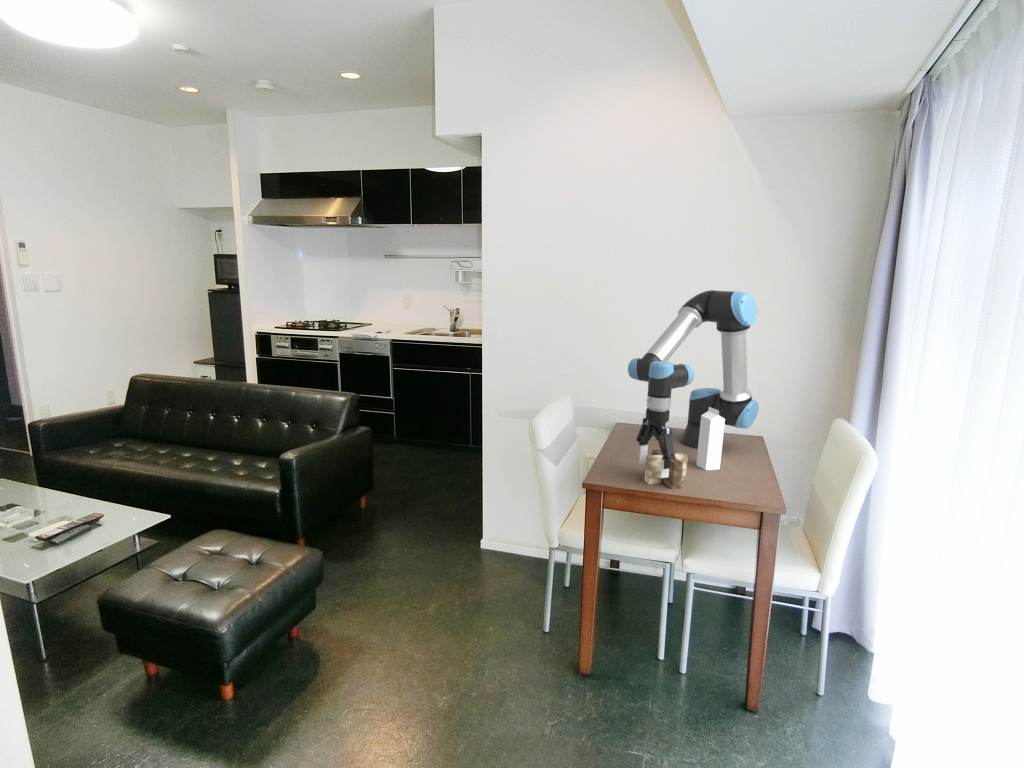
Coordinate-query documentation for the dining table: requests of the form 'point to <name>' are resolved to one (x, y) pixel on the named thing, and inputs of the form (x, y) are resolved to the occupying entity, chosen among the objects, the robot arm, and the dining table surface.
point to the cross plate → (655, 466)
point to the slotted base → (672, 472)
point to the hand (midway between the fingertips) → (653, 470)
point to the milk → (710, 440)
